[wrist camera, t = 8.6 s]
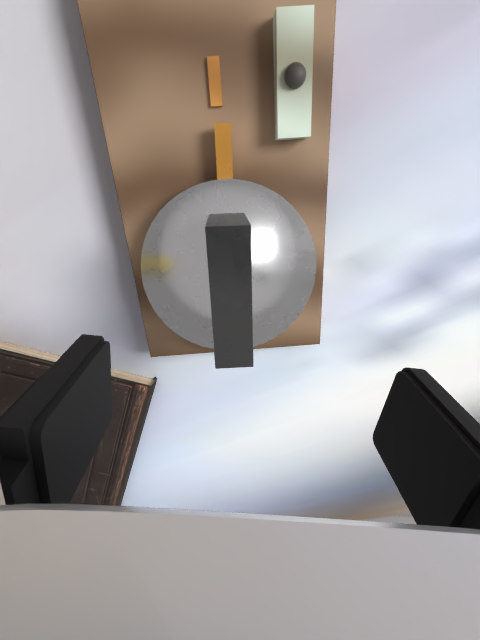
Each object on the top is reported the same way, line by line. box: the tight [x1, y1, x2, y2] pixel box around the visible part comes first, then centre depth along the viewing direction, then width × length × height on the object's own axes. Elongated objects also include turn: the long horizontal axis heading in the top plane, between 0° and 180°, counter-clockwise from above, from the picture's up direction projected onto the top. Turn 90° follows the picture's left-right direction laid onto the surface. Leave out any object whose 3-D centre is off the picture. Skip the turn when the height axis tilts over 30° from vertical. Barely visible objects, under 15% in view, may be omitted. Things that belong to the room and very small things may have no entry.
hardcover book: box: [0, 341, 157, 506], centre depth 32 cm, size 16×23×2 cm
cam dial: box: [141, 123, 316, 369], centre depth 19 cm, size 15×12×7 cm
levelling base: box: [77, 0, 336, 357], centre depth 21 cm, size 24×14×4 cm, turn 4°
